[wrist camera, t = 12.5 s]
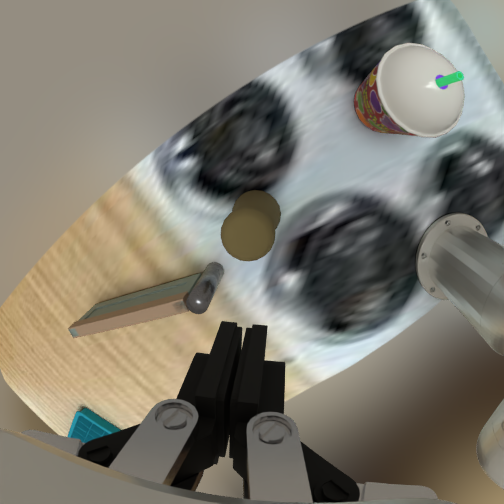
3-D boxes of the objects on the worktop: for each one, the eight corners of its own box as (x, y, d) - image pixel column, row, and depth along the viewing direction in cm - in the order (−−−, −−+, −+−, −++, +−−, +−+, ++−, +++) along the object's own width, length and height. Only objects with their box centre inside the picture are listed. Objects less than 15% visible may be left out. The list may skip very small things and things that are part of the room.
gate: (200, 271, 41) (182, 299, 34) (204, 282, 42) (188, 311, 34) (94, 303, 45) (67, 328, 37) (99, 311, 45) (73, 338, 38)
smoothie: (331, 100, 34) (377, 55, 15) (377, 62, 31) (450, 2, 13) (376, 152, 35) (459, 162, 16) (420, 113, 33) (520, 98, 14)
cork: (273, 243, 40) (269, 277, 30) (227, 230, 40) (206, 260, 30) (286, 197, 38) (287, 216, 28) (238, 184, 38) (221, 198, 28)
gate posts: (224, 263, 42) (207, 295, 33) (222, 397, 50) (211, 439, 41) (206, 261, 42) (185, 292, 33) (208, 395, 50) (195, 436, 41)
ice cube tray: (127, 430, 57) (122, 439, 54) (107, 458, 63) (103, 466, 61) (83, 401, 56) (77, 410, 53) (70, 434, 62) (65, 442, 60)
